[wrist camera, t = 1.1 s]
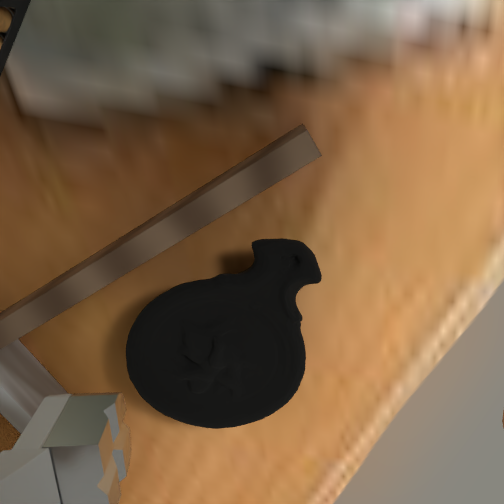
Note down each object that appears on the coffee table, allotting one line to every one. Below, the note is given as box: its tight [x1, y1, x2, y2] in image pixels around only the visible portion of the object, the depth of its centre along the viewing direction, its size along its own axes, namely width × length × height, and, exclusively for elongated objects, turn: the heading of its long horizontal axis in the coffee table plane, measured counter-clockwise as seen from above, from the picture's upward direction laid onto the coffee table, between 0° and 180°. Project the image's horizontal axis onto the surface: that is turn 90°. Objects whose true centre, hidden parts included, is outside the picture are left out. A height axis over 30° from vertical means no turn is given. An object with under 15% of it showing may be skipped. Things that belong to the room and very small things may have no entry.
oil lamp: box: [126, 239, 321, 429], centre depth 39 cm, size 15×20×5 cm
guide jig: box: [0, 124, 322, 434], centre depth 38 cm, size 34×15×5 cm, turn 122°
